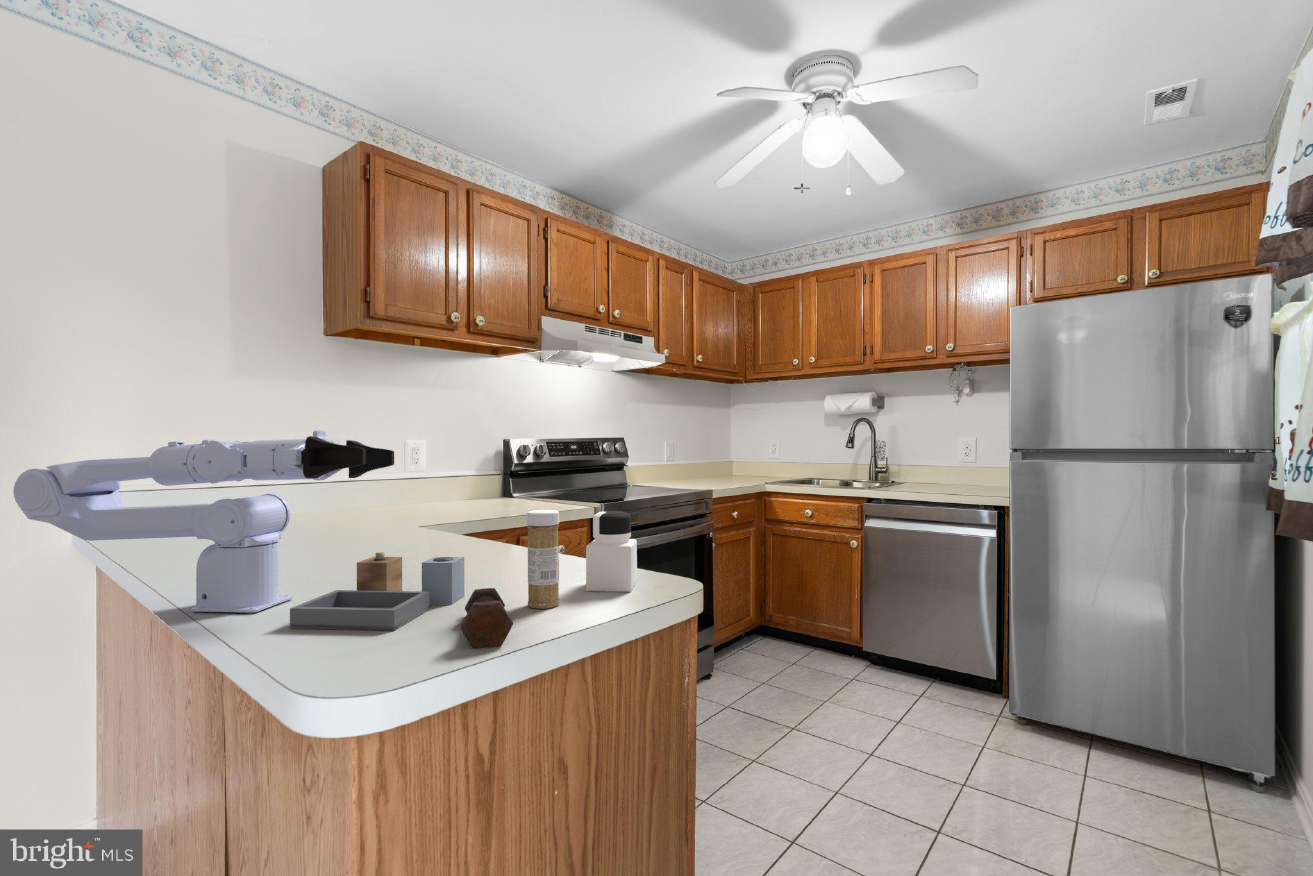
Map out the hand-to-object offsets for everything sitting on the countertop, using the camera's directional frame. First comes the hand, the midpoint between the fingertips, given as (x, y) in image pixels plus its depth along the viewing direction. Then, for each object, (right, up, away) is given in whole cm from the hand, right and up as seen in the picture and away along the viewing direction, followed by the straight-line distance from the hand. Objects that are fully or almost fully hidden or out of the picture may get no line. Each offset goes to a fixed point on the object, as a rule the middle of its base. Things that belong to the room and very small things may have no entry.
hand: (379, 457), depth 86 cm
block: (-2, -21, +4) cm, 22 cm away
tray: (0, -21, -5) cm, 22 cm away
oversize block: (+8, -21, +4) cm, 23 cm away
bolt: (+18, -21, -10) cm, 30 cm away
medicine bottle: (+32, -21, +12) cm, 40 cm away
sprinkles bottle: (+23, -21, +1) cm, 31 cm away
